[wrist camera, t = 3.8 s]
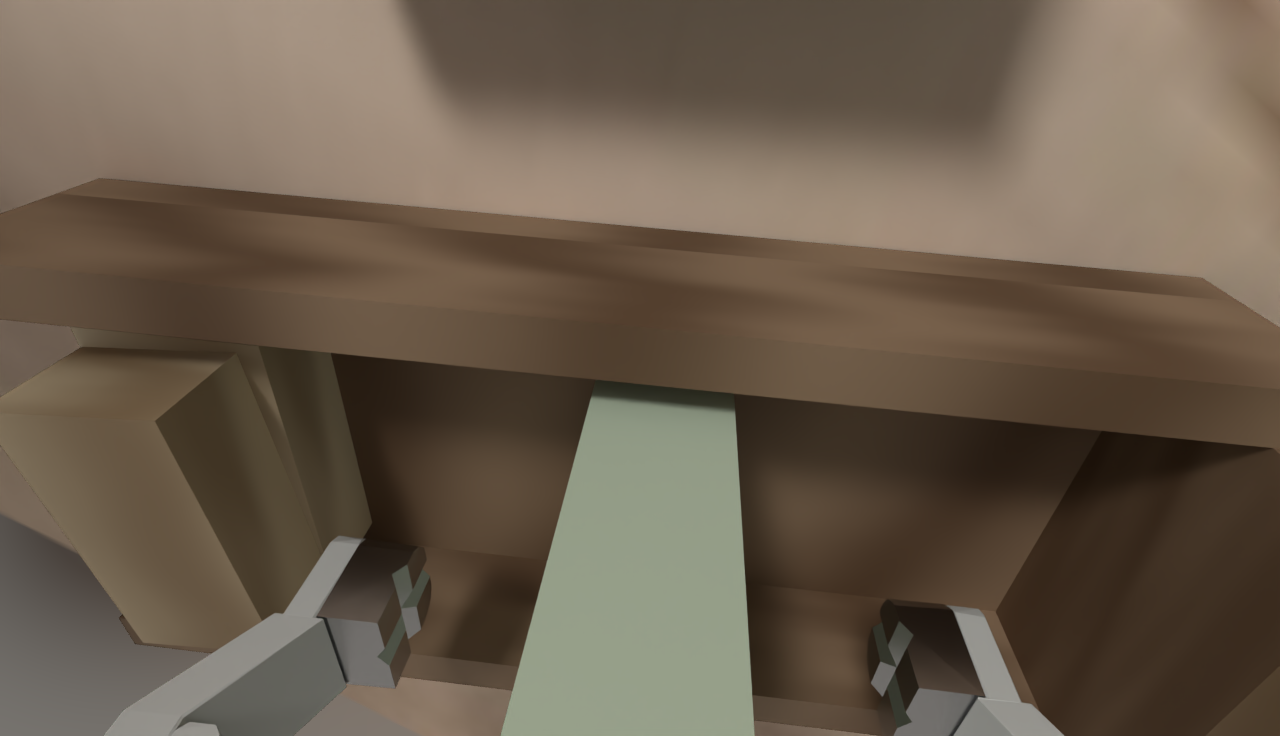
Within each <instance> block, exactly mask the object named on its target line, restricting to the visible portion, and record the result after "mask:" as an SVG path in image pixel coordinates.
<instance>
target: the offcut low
mask: <svg viewBox="0 0 1280 736" xmlns="http://www.w3.org/2000/svg"><path fill="white" fill-rule="evenodd" d="M70 328H71V330H72V332H73V334H74V336H75V338H76V340H77V342H78V344H79V346H80V348H81V347H101V348H125V349H149V350H174V351H198V352H222V353H236V354H237V356H238V358H239V361H240V363H241V366H242V368H243V370H244V373H245V375H246V377H247V380H248V382H249V385H250V387H251V389H252V392H253V394H254V397H255V399H256V401H257V404H258V406H259V409H260V411H261V413H262V416H263V418H264V421H265V423H266V425H267V428H268V430H269V432H270V435H271V437H272V440H273V442H274V444H275V447H276V449H277V452H278V454H279V456H280V459H281V461H282V464H283V466H284V468H285V471H286V473H287V476H288V478H289V480H290V483H291V485H292V488H293V490H294V492H295V495H296V497H297V499H298V502H299V504H300V507H301V509H302V511H303V514H304V516H305V519H306V521H307V523H308V526H309V528H310V531H311V533H312V535H313V538H314V540H315V543H316V545H317V547H318V550H319V552H320V554H321V556H322V554H323V552H324V551H325V549H326V548H327V546H328V545H329V543H330V542H331V541H333V540H334V539H335V538H336V537H338V536H347V537H355V538H363V537H364V536H365V534H366V532H367V531H368V529H369V527H370V526H371V524H372V520H371V515H370V511H369V507H368V503H367V499H366V495H365V491H364V487H363V483H362V479H361V475H360V471H359V467H358V462H357V458H356V454H355V450H354V446H353V442H352V438H351V434H350V430H349V426H348V422H347V418H346V414H345V410H344V405H343V401H342V397H341V393H340V389H339V385H338V381H337V377H336V373H335V369H334V365H333V361H332V357H331V353H327V352H317V351H307V350H298V349H288V348H278V347H268V346H258V345H248V344H238V343H228V342H218V341H209V340H199V339H189V338H179V337H169V336H159V335H149V334H139V333H129V332H119V331H110V330H100V329H90V328H80V327H70Z"/></svg>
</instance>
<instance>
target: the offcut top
mask: <svg viewBox="0 0 1280 736" xmlns="http://www.w3.org/2000/svg"><path fill="white" fill-rule="evenodd" d="M0 445H1V447H2V448H3V450H4V451H5V452H6V454H7V455H8V456H9V458H10V459H11V461H12V462H13V463H14V465H15V466H16V468H17V469H18V470H19V472H20V473H21V474H22V476H23V477H24V479H25V480H26V481H27V483H28V484H29V486H30V487H31V488H32V490H33V491H34V492H35V494H36V495H37V497H38V498H39V499H40V501H41V502H42V504H43V505H44V506H45V508H46V509H47V510H48V512H49V513H50V515H51V516H52V517H53V519H54V520H55V522H56V523H57V524H58V526H59V527H60V528H61V530H62V531H63V533H64V534H65V535H66V537H67V538H68V539H69V541H70V542H71V544H72V545H73V546H74V548H75V549H76V551H77V552H78V553H79V555H80V556H81V557H82V559H83V560H84V561H85V563H86V564H87V566H88V567H89V568H90V570H91V571H92V573H93V574H94V575H95V577H96V578H97V579H98V581H99V582H100V584H101V585H102V586H103V588H104V589H105V591H106V592H107V593H108V595H109V596H110V598H111V599H112V600H113V602H114V603H115V604H116V606H117V607H118V609H119V610H120V611H121V613H122V614H123V616H124V617H125V618H126V620H127V621H128V622H129V624H130V625H131V627H132V628H133V629H134V631H135V632H136V634H137V635H138V636H139V638H140V639H141V640H142V642H143V643H152V644H165V645H177V646H189V647H201V648H214V649H219V648H221V647H223V646H224V645H226V644H227V643H229V642H230V641H232V640H233V639H235V638H237V637H238V636H240V635H241V634H243V633H244V632H246V631H248V630H249V629H251V628H252V627H254V626H255V625H257V624H258V623H260V622H262V621H263V620H265V619H266V618H268V617H269V616H271V615H272V614H274V613H282V614H283V613H284V612H285V610H286V609H287V607H288V606H289V604H290V603H291V601H292V600H293V598H294V597H295V595H296V594H297V592H298V591H299V589H300V588H301V586H302V584H303V583H304V581H305V580H306V578H307V577H308V575H309V574H310V572H311V571H312V569H313V568H314V566H315V565H316V563H317V562H318V560H319V559H320V557H321V554H320V552H319V550H318V547H317V545H316V543H315V540H314V538H313V535H312V533H311V531H310V528H309V526H308V523H307V521H306V519H305V516H304V514H303V511H302V509H301V507H300V504H299V502H298V499H297V497H296V495H295V492H294V490H293V488H292V485H291V483H290V480H289V478H288V476H287V473H286V471H285V468H284V466H283V464H282V461H281V459H280V456H279V454H278V452H277V449H276V447H275V444H274V442H273V440H272V437H271V435H270V432H269V430H268V428H267V425H266V423H265V421H264V418H263V416H262V413H261V411H260V409H259V406H258V404H257V401H256V399H255V397H254V394H253V392H252V389H251V387H250V385H249V382H248V380H247V377H246V375H245V373H244V370H243V368H242V366H241V363H240V361H239V358H238V356H237V354H236V353H222V352H198V351H174V350H149V349H125V348H101V347H81V348H79V349H78V350H76V351H74V352H73V353H71V354H69V355H68V356H66V357H65V358H63V359H61V360H60V361H58V362H56V363H55V364H53V365H52V366H50V367H48V368H47V369H45V370H44V371H42V372H40V373H39V374H37V375H35V376H34V377H32V378H31V379H29V380H27V381H26V382H24V383H22V384H21V385H19V386H18V387H16V388H14V389H13V390H11V391H9V392H8V393H6V394H5V395H3V396H1V397H0Z"/></svg>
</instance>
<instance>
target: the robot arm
mask: <svg viewBox="0 0 1280 736" xmlns="http://www.w3.org/2000/svg"><path fill="white" fill-rule="evenodd" d="M426 560H427V558H426V554H425V550H424V547H420V546H413V545H406V544H399V543H392V542H385V541H378V540H370V539H363V538H355V537H347V536H338V537H336V538H335V539H334V540H333V541H331V542H330V543H329V545H328V546H327V548H326V549H325V551H324V552H323V554H322V556H321V557H320V559H319V560H318V562H317V563H316V565H315V566H314V568H313V569H312V571H311V572H310V574H309V575H308V577H307V578H306V580H305V581H304V583H303V584H302V586H301V588H300V589H299V591H298V592H297V594H296V595H295V597H294V598H293V600H292V601H291V603H290V604H289V606H288V607H287V609H286V610H285V612H284V613H283V614H282V613H274V614H272V615H271V616H269V617H268V618H266V619H265V620H263V621H262V622H260V623H258V624H257V625H255V626H254V627H252V628H251V629H249V630H248V631H246V632H244V633H243V634H241V635H240V636H238V637H237V638H235V639H233V640H232V641H230V642H229V643H227V644H226V645H224V646H223V647H221V648H219V649H218V650H216V651H215V652H213V653H212V654H210V655H209V656H207V657H205V658H204V659H202V660H201V661H199V662H198V663H196V664H194V665H193V666H191V667H190V668H188V669H187V670H185V671H184V672H182V673H181V674H179V675H177V676H176V677H174V678H173V679H171V680H170V681H168V682H166V683H165V684H163V685H162V686H160V687H159V688H157V689H156V690H154V691H152V692H151V693H149V694H148V695H146V696H145V697H143V698H141V699H140V700H138V701H137V702H135V703H134V704H132V705H131V706H129V707H127V708H126V709H124V710H123V711H122V713H121V714H120V715H119V716H118V718H117V719H116V720H115V722H114V723H113V724H112V726H111V727H110V728H109V729H108V731H107V732H106V733H105V734H104V736H294V735H295V734H296V733H297V732H298V731H299V730H300V729H301V728H302V727H303V726H305V725H306V724H307V723H308V722H309V721H310V720H311V719H312V718H313V717H314V716H315V715H317V714H318V713H319V712H320V711H321V710H322V709H323V708H324V707H325V706H326V705H328V704H329V703H330V702H331V701H332V700H333V699H334V698H335V697H336V696H337V695H338V694H340V693H341V692H342V691H343V690H344V689H345V688H346V684H353V685H364V686H375V687H385V688H396V686H397V684H398V681H399V679H400V677H401V675H402V672H403V670H404V668H405V665H406V663H407V661H408V659H409V656H410V654H411V650H410V645H409V641H408V639H409V638H410V637H412V636H413V635H414V634H416V633H417V632H418V631H420V630H421V628H422V626H423V623H424V621H425V619H426V616H427V613H428V609H429V605H430V600H431V588H432V585H431V579H430V576H429V575H428V574H427V573H426V572H425V571H424V570H423V567H424V565H425V563H426ZM879 612H880V616H881V620H882V622H881V623H879V624H878V625H876V626H874V627H872V630H871V633H870V636H869V638H868V645H867V665H868V672H869V677H870V682H871V684H872V685H873V686H874V687H875V689H876V690H877V691H878V692H879V693H880V694H881V695H882V699H881V701H880V703H879V705H878V707H877V713H878V717H879V721H880V726H881V730H882V734H883V736H1064V735H1063V734H1062V733H1061V732H1060V731H1059V730H1058V729H1057V728H1056V727H1055V726H1054V725H1053V724H1052V723H1051V722H1050V721H1049V720H1048V719H1047V718H1046V717H1044V716H1043V715H1042V714H1041V713H1040V712H1039V711H1038V710H1037V709H1036V708H1035V707H1034V706H1033V705H1032V704H1030V703H1024V702H1021V699H1020V697H1019V695H1018V692H1017V690H1016V688H1015V685H1014V683H1013V681H1012V678H1011V676H1010V674H1009V672H1008V669H1007V667H1006V665H1005V662H1004V660H1003V658H1002V655H1001V653H1000V651H999V648H998V646H997V644H996V641H995V639H994V637H993V634H992V632H991V630H990V627H989V625H988V623H987V621H986V618H985V616H984V614H983V613H982V612H981V611H980V610H979V609H976V608H968V607H959V606H949V605H945V604H937V603H927V602H917V601H907V600H897V599H887V600H886V601H884V602H883V604H882V607H881V609H880V611H879Z"/></svg>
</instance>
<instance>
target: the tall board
mask: <svg viewBox="0 0 1280 736" xmlns="http://www.w3.org/2000/svg"><path fill="white" fill-rule="evenodd" d="M501 736H755V734H754V717H753V700H752V684H751V667H750V650H749V634H748V617H747V601H746V584H745V567H744V551H743V534H742V518H741V501H740V484H739V468H738V451H737V435H736V418H735V401H734V394H733V393H723V392H713V391H703V390H693V389H684V388H674V387H664V386H654V385H644V384H634V383H624V382H614V381H604V380H596V381H595V385H594V388H593V392H592V396H591V399H590V403H589V407H588V411H587V414H586V418H585V422H584V426H583V429H582V433H581V437H580V441H579V444H578V448H577V452H576V456H575V459H574V463H573V467H572V470H571V474H570V478H569V482H568V485H567V489H566V493H565V497H564V500H563V504H562V508H561V512H560V515H559V519H558V523H557V527H556V530H555V534H554V538H553V541H552V545H551V549H550V553H549V556H548V560H547V564H546V568H545V571H544V575H543V579H542V583H541V586H540V590H539V594H538V598H537V601H536V605H535V609H534V612H533V616H532V620H531V624H530V627H529V631H528V635H527V639H526V642H525V646H524V650H523V654H522V657H521V661H520V665H519V668H518V672H517V676H516V680H515V683H514V687H513V691H512V695H511V698H510V702H509V706H508V710H507V713H506V717H505V721H504V725H503V728H502V732H501Z"/></svg>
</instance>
